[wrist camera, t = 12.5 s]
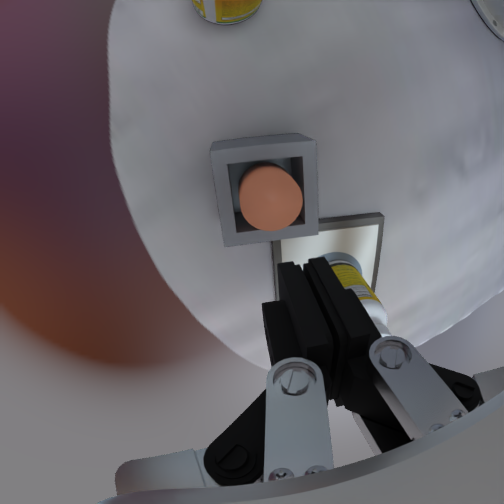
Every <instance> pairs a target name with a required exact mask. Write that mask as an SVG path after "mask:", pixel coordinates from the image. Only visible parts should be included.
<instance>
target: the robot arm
mask: <svg viewBox="0 0 504 504" xmlns="http://www.w3.org/2000/svg"><path fill="white" fill-rule="evenodd" d="M471 1H472V3H473V4H474V6H475V8H476V10H477V11H478V13H479V14H480V16H481V18H482V19H483V20H484V22H485V23H486V24H487V26H488V27H489V28H490V29H491V30H492V31H493V32H494V33H495V34H496V35H497V36H498V37H499V38H500V39H502V40H503V41H504V0H471ZM277 272H278V287H279V301H273V302H266V303H262V311H263V321H264V328H265V335H266V340H267V346H268V351H269V356H270V361H271V366H272V368H271V369H270V371H269V372H268V375H267V381H266V389H265V390H264V391H263V392H262V394H260V396H259V397H258V398H257V399H256V400H255V401H254V402H253V403H252V404H251V405H250V406H249V407H248V408H247V409H246V410H245V411H244V412H243V413H242V414H241V415H240V416H239V417H238V418H237V419H236V420H235V421H234V422H233V423H232V424H231V425H230V426H229V427H228V428H227V429H226V430H225V431H224V432H223V433H222V434H221V435H220V436H218V437H217V438H216V439H215V440H214V441H213V442H212V443H211V444H210V445H209V447H208V448H204V449H200V450H196V451H194V450H193V449H189V450H185V451H180V452H176V453H171V454H166V455H160V456H155V457H149V458H142V459H136V460H130V461H127V462H125V463H123V464H122V465H121V466H120V467H119V468H118V470H117V472H116V473H115V485H116V491H117V496H115V497H111V498H108V499H105V500H103V501H100V502H98V503H96V504H504V367H500V368H497V369H493V370H490V371H486V372H482V373H478V374H474V375H473V377H472V378H471V377H469V376H467V375H464V374H461V373H458V372H455V371H452V370H448V369H445V368H442V367H439V366H436V365H433V364H430V363H428V362H427V361H426V360H425V359H424V358H423V357H422V356H421V354H420V353H419V352H418V351H417V350H416V348H415V347H414V346H413V345H412V344H411V343H410V342H408V341H407V340H405V339H403V338H401V337H397V336H385V337H382V336H381V334H380V332H379V331H378V329H377V327H376V326H375V324H374V322H373V321H372V319H371V317H370V316H369V314H368V313H367V311H366V309H365V308H364V306H363V305H362V303H361V301H360V300H359V298H358V297H357V295H356V293H355V292H354V291H353V289H351V288H348V289H344V287H343V285H342V284H341V282H340V280H339V279H338V277H337V276H336V274H335V272H334V271H333V269H332V268H331V266H330V264H329V263H328V261H327V260H326V258H325V257H317V258H310V259H308V263H304V264H303V270H302V268H301V266H300V264H297V265H295V264H294V262H293V261H290V262H283V263H278V264H277ZM332 399H334V401H335V403H336V406H337V407H339V406H342V405H344V406H345V408H346V409H347V410H350V411H352V415H353V418H354V420H355V421H356V423H357V425H358V427H359V428H360V430H361V432H362V434H363V435H364V437H365V439H366V440H367V442H368V444H369V446H370V447H371V449H372V451H373V453H374V455H375V456H374V457H371V458H368V459H365V460H362V461H358V462H355V463H352V464H349V465H345V466H342V467H338V468H334V464H333V454H332V445H331V436H330V427H329V418H328V411H327V406H328V401H329V400H332Z"/></svg>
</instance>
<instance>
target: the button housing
mask: <svg viewBox="0 0 504 504" xmlns="http://www.w3.org/2000/svg"><path fill="white" fill-rule="evenodd" d="M210 157H211V164H212V170H213V177H214V184H215V190H216V197H217V203H218V210H219V216H220V222H221V228H222V235H223V241H224V247H230V246H237V245H244V244H252V243H260V242H267V241H275V240H283V239H290V238H298V237H306V236H314V235H318V172H317V148H316V141H315V140H313V139H311V138H308V137H306V136H304V135H301V134H299V133H294V134H280V135H268V136H258V137H249V138H240V139H232V140H224V141H217V142H213V143H212V146H211V149H210ZM263 162H269V163H274V164H277V165H279V166H281V167H282V168H284V169H285V170H286V171H287V172H288V174H289V175H290V176H291V177H292V178H293V179H294V180H295V182H296V183H297V184H298V186H299V187H300V190H301V192H302V197H303V203H302V208H301V211H300V213H299V215H298V217H297V218H296V219H295V220H294V221H293V222H292V223H291V224H290V225H289V226H287V227H285V228H283V229H280V230H276V231H264V230H260V229H257V228H255V227H254V226H252V225H251V224H249V223H248V221H247V220H246V219H245V218H244V216H243V214H242V211H241V207H240V200H239V194H238V185H239V181H240V179H241V177H242V175H243V174H244V172H245V171H246V170H247V169H249V168H250V167H251V166H253V165H255V164H258V163H263Z"/></svg>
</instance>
